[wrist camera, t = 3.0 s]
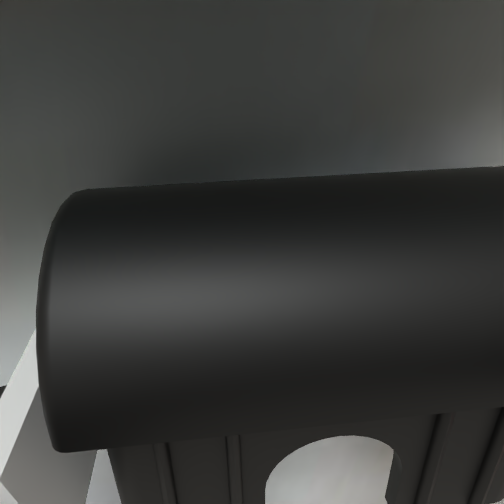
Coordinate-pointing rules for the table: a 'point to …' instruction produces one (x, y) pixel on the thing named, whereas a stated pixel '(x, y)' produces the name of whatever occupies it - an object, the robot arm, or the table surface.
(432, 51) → the table surface
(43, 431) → the robot arm
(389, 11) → the table surface
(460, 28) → the table surface
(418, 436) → the end cap
